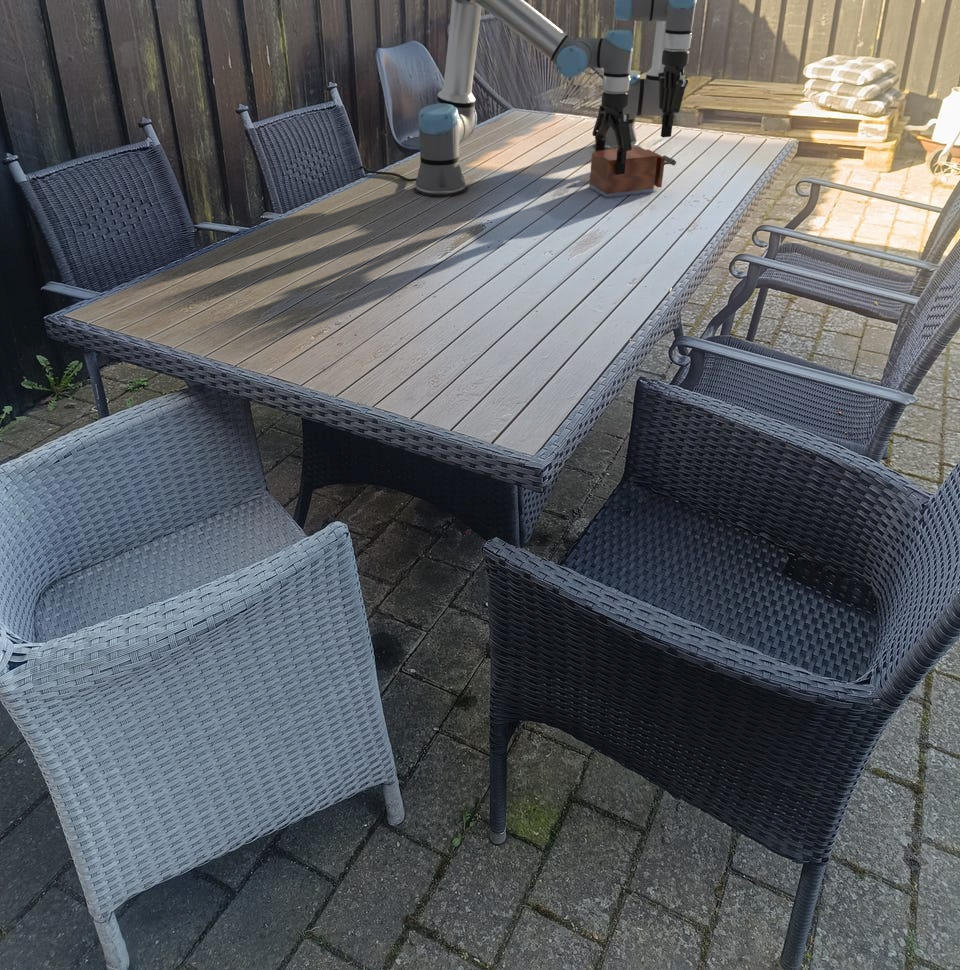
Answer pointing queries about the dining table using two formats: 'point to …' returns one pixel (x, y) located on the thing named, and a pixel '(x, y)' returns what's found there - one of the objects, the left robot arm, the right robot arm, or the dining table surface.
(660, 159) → the drawer
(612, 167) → the cabinet
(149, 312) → the dining table surface
